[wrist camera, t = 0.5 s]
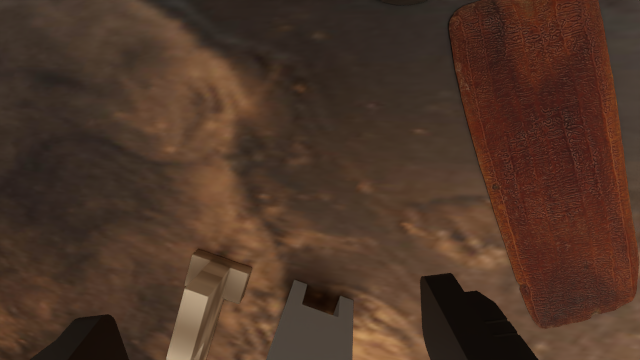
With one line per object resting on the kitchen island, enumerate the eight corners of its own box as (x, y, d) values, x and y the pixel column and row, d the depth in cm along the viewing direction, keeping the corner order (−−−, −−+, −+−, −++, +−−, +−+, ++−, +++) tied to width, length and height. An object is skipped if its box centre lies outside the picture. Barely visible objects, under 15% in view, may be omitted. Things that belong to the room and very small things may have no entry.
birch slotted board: (198, 248, 33) (163, 281, 27) (252, 267, 33) (229, 304, 27) (159, 394, 37) (121, 450, 31) (207, 412, 36) (179, 471, 31)
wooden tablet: (438, 17, 28) (442, 11, 26) (581, -34, 26) (596, -43, 25) (517, 330, 32) (526, 343, 31) (644, 303, 31) (660, 315, 29)
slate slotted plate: (294, 279, 33) (259, 380, 21) (353, 300, 33) (351, 412, 21) (285, 304, 33) (247, 415, 22) (344, 324, 33) (336, 447, 21)
